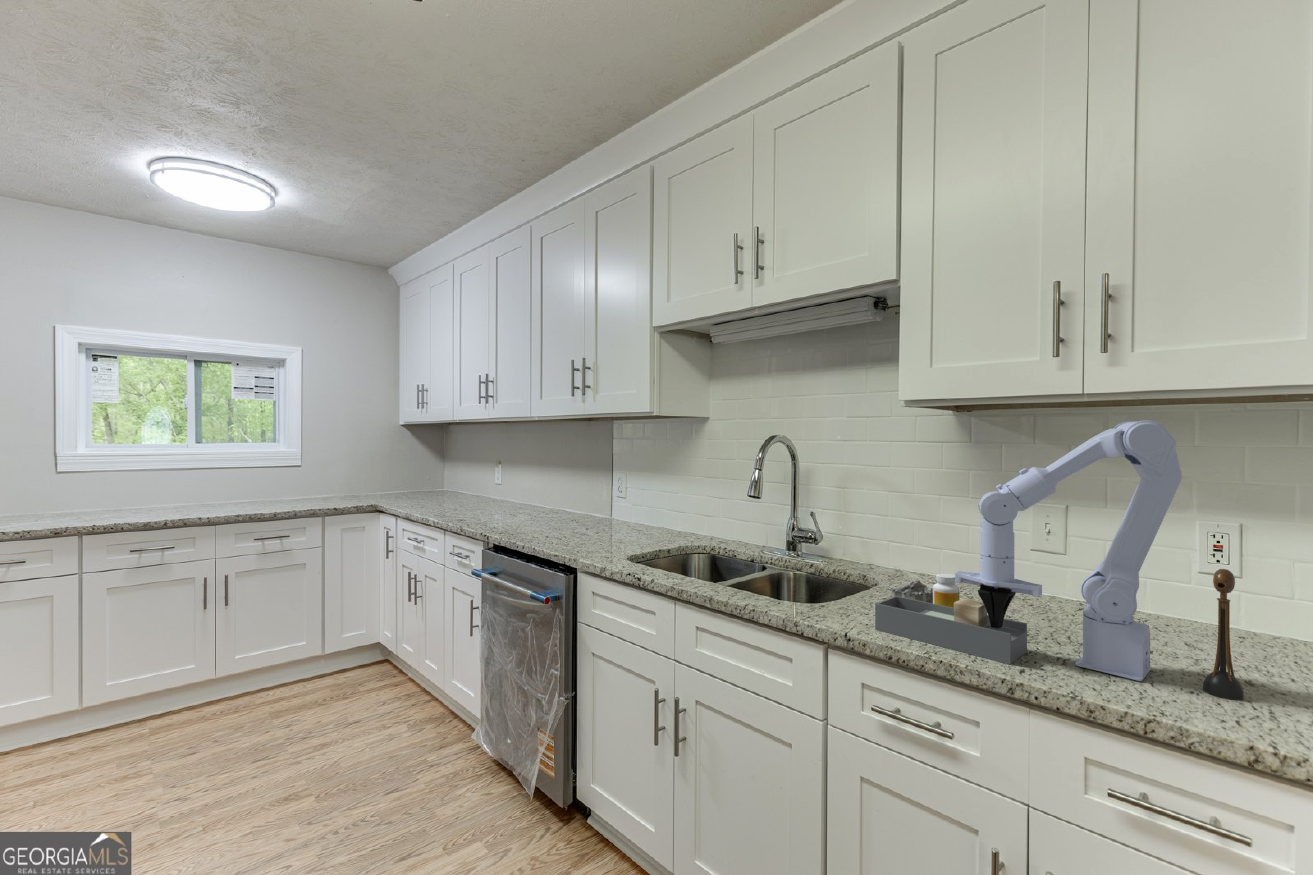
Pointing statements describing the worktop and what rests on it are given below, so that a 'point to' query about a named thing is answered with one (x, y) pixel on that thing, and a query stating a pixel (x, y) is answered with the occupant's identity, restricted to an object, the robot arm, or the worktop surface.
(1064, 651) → the worktop surface
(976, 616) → the maple block
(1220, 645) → the wooden tabletop sculpture
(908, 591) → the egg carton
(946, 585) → the supplement bottle
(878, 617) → the grey drawer organizer tray
